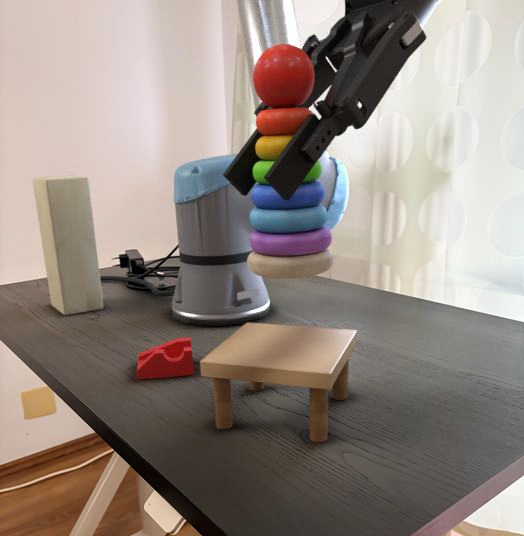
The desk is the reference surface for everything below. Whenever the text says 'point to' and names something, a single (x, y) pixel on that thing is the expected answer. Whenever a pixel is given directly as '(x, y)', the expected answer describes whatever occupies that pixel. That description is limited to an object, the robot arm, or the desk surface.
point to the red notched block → (166, 360)
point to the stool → (282, 366)
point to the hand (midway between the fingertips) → (254, 186)
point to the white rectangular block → (68, 243)
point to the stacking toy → (269, 148)
